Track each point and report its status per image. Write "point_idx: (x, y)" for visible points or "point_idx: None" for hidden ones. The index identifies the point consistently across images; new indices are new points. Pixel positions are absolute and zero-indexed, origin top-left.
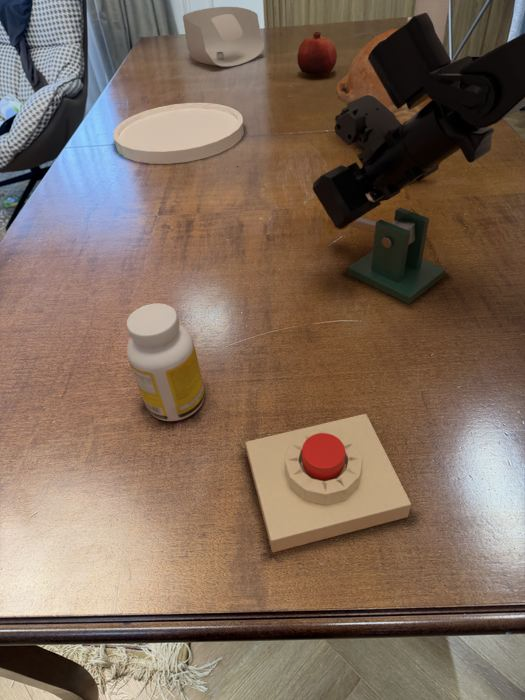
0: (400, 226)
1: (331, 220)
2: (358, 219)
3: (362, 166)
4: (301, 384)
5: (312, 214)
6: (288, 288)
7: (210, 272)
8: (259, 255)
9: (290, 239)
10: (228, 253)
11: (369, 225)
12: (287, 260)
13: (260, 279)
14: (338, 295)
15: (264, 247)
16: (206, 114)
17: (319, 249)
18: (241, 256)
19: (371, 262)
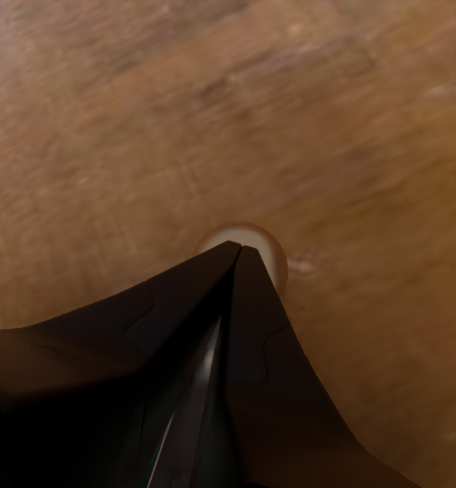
0: None
1: (194, 249)
2: (201, 373)
3: (234, 437)
4: None
5: (385, 137)
6: (6, 241)
7: (19, 44)
8: (126, 107)
9: (230, 142)
10: (108, 39)
11: (158, 453)
12: (129, 180)
13: (25, 159)
14: None
15: (166, 100)
16: None
17: None
18: (106, 71)
19: (162, 439)
